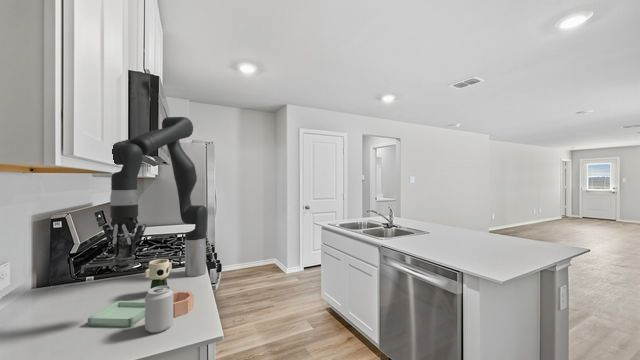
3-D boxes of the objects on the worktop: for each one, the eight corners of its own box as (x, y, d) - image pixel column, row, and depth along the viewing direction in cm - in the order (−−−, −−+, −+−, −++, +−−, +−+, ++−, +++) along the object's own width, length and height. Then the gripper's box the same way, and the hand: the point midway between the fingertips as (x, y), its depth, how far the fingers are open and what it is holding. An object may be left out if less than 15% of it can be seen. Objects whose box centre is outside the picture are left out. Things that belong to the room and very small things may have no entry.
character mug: (151, 300, 101) (151, 266, 101) (139, 297, 104) (139, 264, 104) (177, 289, 111) (177, 258, 111) (165, 287, 114) (165, 256, 114)
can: (167, 318, 88) (167, 282, 88) (177, 326, 83) (177, 288, 83) (141, 328, 82) (141, 289, 82) (150, 337, 77) (150, 296, 77)
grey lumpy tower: (116, 266, 91) (116, 231, 91) (136, 264, 93) (136, 229, 93) (111, 271, 85) (111, 234, 85) (133, 269, 88) (133, 232, 88)
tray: (118, 307, 96) (118, 300, 96) (156, 308, 95) (156, 301, 95) (87, 325, 84) (87, 318, 84) (131, 326, 83) (131, 319, 83)
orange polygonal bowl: (171, 303, 99) (171, 291, 99) (197, 303, 98) (197, 291, 98) (153, 317, 89) (153, 303, 89) (182, 317, 88) (182, 304, 88)
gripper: (152, 202, 93) (152, 252, 93) (113, 202, 93) (113, 251, 93) (136, 204, 85) (137, 258, 85) (94, 204, 86) (94, 257, 86)
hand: (124, 254), depth 89 cm, fingers closed on grey lumpy tower, 3 cm apart
